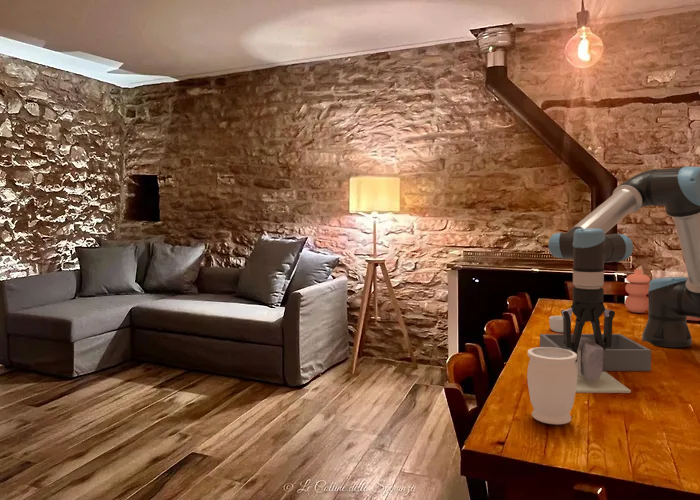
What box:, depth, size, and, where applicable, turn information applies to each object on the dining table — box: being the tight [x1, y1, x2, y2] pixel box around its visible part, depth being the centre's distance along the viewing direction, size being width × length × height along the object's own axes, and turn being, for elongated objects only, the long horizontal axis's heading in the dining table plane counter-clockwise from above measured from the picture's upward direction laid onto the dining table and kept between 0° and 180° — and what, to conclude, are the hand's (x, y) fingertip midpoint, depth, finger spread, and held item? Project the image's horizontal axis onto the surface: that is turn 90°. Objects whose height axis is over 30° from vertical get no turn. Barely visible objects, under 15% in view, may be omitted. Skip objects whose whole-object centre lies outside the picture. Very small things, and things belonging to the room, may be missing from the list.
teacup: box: [548, 315, 572, 334], centre depth 206 cm, size 10×8×5 cm
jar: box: [526, 346, 577, 425], centre depth 121 cm, size 11×10×15 cm
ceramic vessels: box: [624, 269, 700, 322], centre depth 235 cm, size 35×21×19 cm, turn 59°
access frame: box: [539, 333, 652, 372], centre depth 166 cm, size 25×20×6 cm
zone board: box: [575, 371, 632, 394], centre depth 146 cm, size 16×16×1 cm
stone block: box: [578, 337, 604, 380], centre depth 145 cm, size 12×5×10 cm, turn 174°
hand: (586, 372), depth 146 cm, fingers closed on stone block, 4 cm apart
